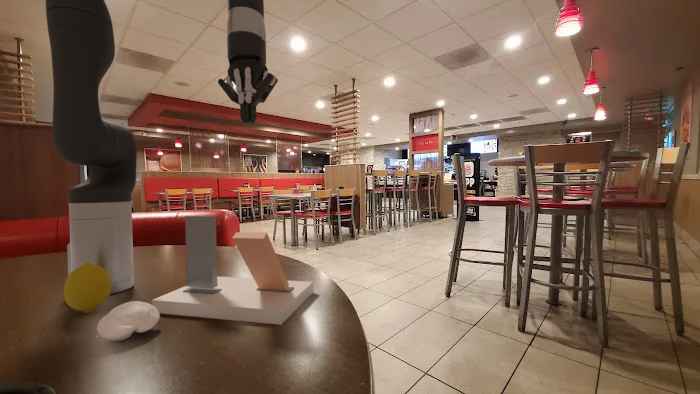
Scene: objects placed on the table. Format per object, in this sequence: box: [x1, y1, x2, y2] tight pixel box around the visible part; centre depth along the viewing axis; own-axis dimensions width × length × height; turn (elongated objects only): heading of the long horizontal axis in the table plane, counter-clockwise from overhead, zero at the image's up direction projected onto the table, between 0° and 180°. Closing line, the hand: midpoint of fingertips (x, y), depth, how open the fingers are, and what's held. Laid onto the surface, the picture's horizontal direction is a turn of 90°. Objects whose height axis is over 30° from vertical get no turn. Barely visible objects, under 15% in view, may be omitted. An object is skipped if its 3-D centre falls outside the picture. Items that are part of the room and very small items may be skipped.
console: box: [151, 275, 314, 326], centre depth 49 cm, size 22×13×2 cm, turn 77°
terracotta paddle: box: [232, 231, 289, 290], centre depth 45 cm, size 5×1×12 cm
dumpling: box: [95, 300, 161, 342], centre depth 38 cm, size 7×5×4 cm
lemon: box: [63, 263, 111, 314], centre depth 45 cm, size 6×6×8 cm
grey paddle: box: [184, 215, 218, 288], centre depth 49 cm, size 5×1×12 cm, turn 77°
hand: (248, 123), depth 60 cm, fingers closed
